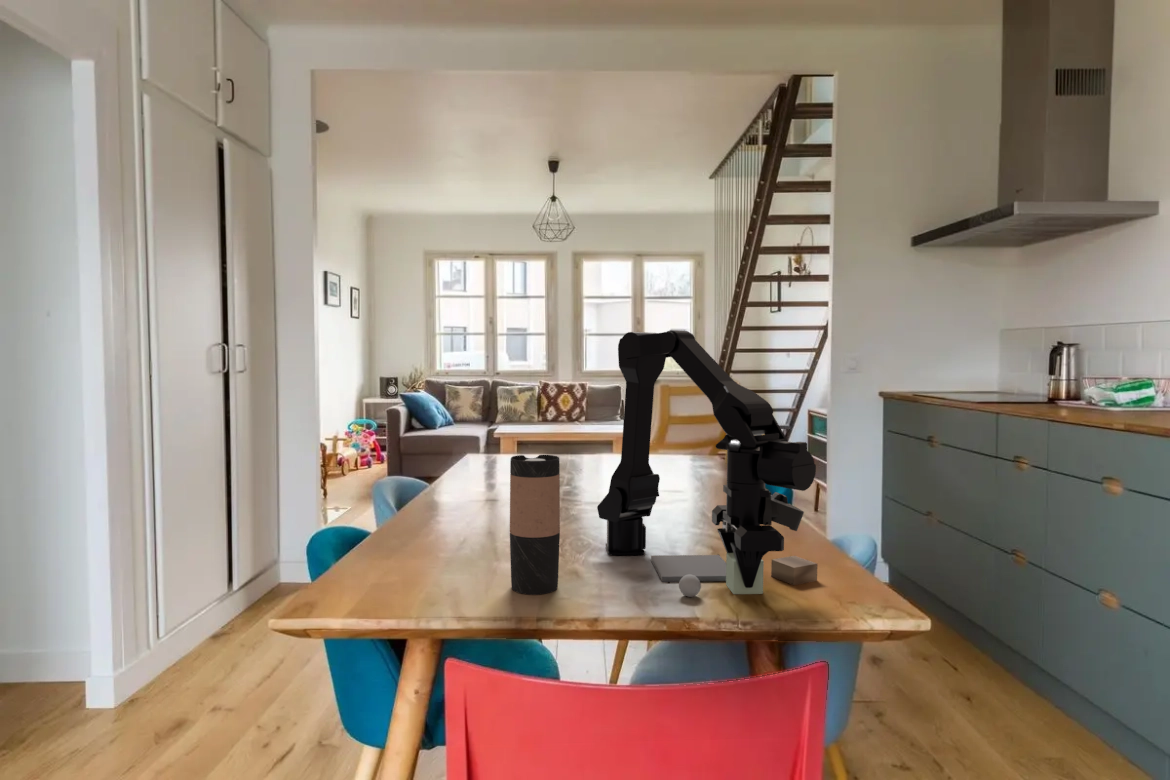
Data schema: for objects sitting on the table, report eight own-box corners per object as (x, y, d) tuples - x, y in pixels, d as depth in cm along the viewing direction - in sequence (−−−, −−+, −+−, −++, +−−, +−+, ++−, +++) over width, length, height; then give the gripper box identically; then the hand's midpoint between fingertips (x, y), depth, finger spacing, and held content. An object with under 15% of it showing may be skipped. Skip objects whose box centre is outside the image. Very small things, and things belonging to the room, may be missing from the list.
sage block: (733, 594, 107) (733, 561, 107) (725, 584, 111) (726, 552, 111) (763, 593, 107) (763, 560, 107) (754, 584, 112) (754, 552, 111)
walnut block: (793, 586, 111) (793, 567, 111) (771, 577, 116) (771, 559, 116) (817, 582, 114) (817, 563, 114) (794, 573, 118) (794, 555, 118)
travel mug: (540, 598, 104) (540, 462, 103) (499, 589, 108) (499, 458, 107) (569, 584, 111) (569, 456, 110) (529, 576, 115) (529, 452, 114)
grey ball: (681, 600, 104) (681, 578, 104) (677, 592, 107) (677, 571, 107) (702, 599, 104) (703, 578, 104) (698, 592, 107) (698, 571, 107)
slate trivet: (662, 581, 113) (662, 576, 113) (651, 560, 125) (651, 555, 124) (737, 580, 113) (737, 575, 113) (719, 559, 125) (719, 554, 125)
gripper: (821, 492, 100) (819, 602, 100) (778, 471, 118) (776, 564, 119) (742, 492, 99) (740, 603, 100) (711, 471, 118) (710, 564, 118)
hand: (744, 582), depth 109 cm, fingers closed on sage block, 4 cm apart
